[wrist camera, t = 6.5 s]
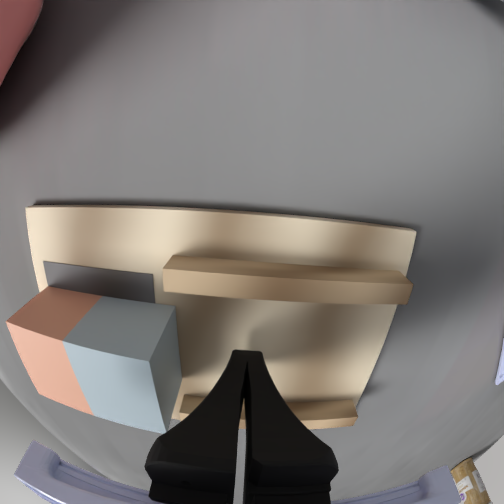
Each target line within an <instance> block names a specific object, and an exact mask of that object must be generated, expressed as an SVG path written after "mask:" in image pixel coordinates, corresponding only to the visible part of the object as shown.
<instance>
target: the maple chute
mask: <svg viewBox="0 0 504 504" xmlns="http://www.w3.org/2000/svg"><path fill="white" fill-rule="evenodd" d="M26 218H27V227H28V234H29V241H30V248H31V254H32V259H33V264H34V269H35V274H36V278H37V283H38V287H39V291H40V292H41V291H43V290H44V289H45V288H46V287H48V286H50V287H55V288H60V289H66V290H71V291H76V292H82V293H88V294H94V295H100V296H106V297H112V298H119V299H126V300H133V301H140V302H148V303H155V304H164V305H172V306H175V307H176V321H177V333H178V345H179V355H180V364H181V373H182V382H181V386H180V389H179V393H178V396H177V399H176V403H175V407H174V410H173V414H172V417H171V418H172V419H178V420H181V421H182V420H183V419H185V418H186V417H187V416H188V415H189V414H190V413H191V412H192V411H193V410H194V409H195V408H196V407H197V406H198V405H199V404H200V403H201V402H202V401H203V400H204V399H205V398H206V396H207V395H208V394H209V393H210V391H211V390H212V389H213V387H214V386H215V384H216V383H217V381H218V380H219V378H220V377H221V375H222V373H223V371H224V370H225V368H226V366H227V364H228V362H229V359H230V357H231V354H232V351H233V350H235V349H237V350H251V351H261V352H262V353H263V357H264V361H265V364H266V366H267V369H268V371H269V374H270V376H271V378H272V380H273V382H274V384H275V386H276V388H277V390H278V391H279V393H280V395H281V396H282V398H283V399H284V401H285V402H286V404H287V405H288V406H289V408H290V409H291V410H292V412H293V413H294V414H295V415H296V417H297V418H298V419H299V420H300V421H301V422H302V423H303V424H304V425H305V426H306V427H307V428H308V429H322V428H335V427H346V426H353V425H354V423H355V421H356V420H357V418H358V415H357V412H356V409H355V407H356V405H357V403H358V401H359V399H360V397H361V395H362V393H363V390H364V388H365V386H366V384H367V382H368V380H369V377H370V375H371V373H372V371H373V368H374V366H375V364H376V361H377V359H378V356H379V354H380V352H381V349H382V347H383V344H384V341H385V339H386V336H387V333H388V331H389V328H390V325H391V322H392V319H393V316H394V314H395V311H396V307H397V304H407V303H408V300H409V297H410V294H411V291H412V288H413V283H411V282H410V281H409V280H408V279H407V278H406V274H407V270H408V267H409V263H410V259H411V255H412V251H413V246H414V242H415V237H416V233H417V232H416V231H414V230H413V229H411V228H404V227H396V226H389V225H381V224H373V223H365V222H356V221H347V220H338V219H329V218H319V217H309V216H298V215H287V214H275V213H263V212H249V211H235V210H220V209H203V208H183V207H159V206H127V205H32V206H29V207H26ZM239 428H240V429H246V424H245V407H244V400H243V406H242V412H241V418H240V424H239Z"/></svg>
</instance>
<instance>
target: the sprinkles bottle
mask: <svg viewBox="0 0 504 504" xmlns="http://www.w3.org/2000/svg"><path fill="white" fill-rule="evenodd" d="M451 474H452V475H453V477H454V479H455V482H456V485H457V488H458V490H459V492H460V495H461V497H462V500H463V502H464V504H493V503H492V502H490V501H491V500H490V498H489V496H488V493H487V491H486V488H485V486H484V483H483V481H482V479H481V477H480V474H479V472H478V470H477V469H476V467H475V465H474V463H473V461H472V458H468V459H466V460H464V461H462V462H461V463H459V464H458V465H457V466H456V467H454V468H453V469H452V470H451Z"/></svg>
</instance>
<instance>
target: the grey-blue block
mask: <svg viewBox="0 0 504 504" xmlns="http://www.w3.org/2000/svg"><path fill="white" fill-rule="evenodd" d="M62 342H63V345H64V348H65V350H66V353H67V356H68V358H69V361H70V364H71V366H72V369H73V371H74V374H75V376H76V378H77V381H78V383H79V385H80V387H81V390H82V392H83V394H84V396H85V398H86V400H87V402H88V404H89V407H90V409H91V411H92V412H93V414H94V416H97V417H100V418H103V419H107V420H110V421H113V422H117V423H120V424H124V425H128V426H132V427H136V428H140V429H144V430H148V431H153V432H158V433H162V434H164V433H166V432H167V431H168V428H169V424H170V421H171V417H172V414H173V410H174V407H175V403H176V399H177V396H178V393H179V389H180V386H181V382H182V373H181V364H180V355H179V345H178V333H177V321H176V307H175V306H172V305H164V304H155V303H148V302H140V301H133V300H126V299H119V298H112V297H106V296H102V297H101V298H100V299H99V300H98V301H97V302H96V304H95V305H94V306H93V307H92V308H91V309H90V310H89V311H88V312H87V313H86V314H85V316H84V317H83V318H82V319H81V320H80V321H79V322H78V323H77V324H76V326H75V327H74V328H73V329H72V330H71V331H70V332H69V334H68V335H67V336H66V337H65V338H64V339H63V341H62Z"/></svg>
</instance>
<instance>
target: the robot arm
mask: <svg viewBox="0 0 504 504" xmlns="http://www.w3.org/2000/svg"><path fill="white" fill-rule="evenodd" d="M502 381H504V340H503V346H502V352H501V357H500V362H499V367H498V371H497V376H496V380H495V384H496V385H498V384H500V383H501V382H502ZM243 400H244V407H245V424H246V455H245V475H244V492H243V504H459V503H460V502H461V498H460V495H459V493H458V490H457V488H456V485H455V483H454V481H453V478H452V475H451V473H450V471H449V468H448V466H447V465H445V466H442V467H440V468H437V469H435V470H432V471H430V472H427V473H426V474H424V475H423V476H422V477H420V478H419V480H418V481H415V482H412V483H409V484H405V485H402V486H399V487H395V488H392V489H388V490H384V491H381V492H376V493H372V494H368V495H363V496H358V497H353V498H348V499H342V500H335V501H330V495H329V492H330V491H331V486H330V482H331V480H332V479H333V478H334V477H335V475H336V474H337V473H338V471H339V469H338V463H337V460H336V458H335V455H334V453H333V451H332V449H331V448H330V447H329V446H328V445H326V444H325V443H324V442H322V441H321V440H320V439H319V438H318V437H316V436H315V435H314V434H313V433H312V432H311V431H310V430H309V429H308V428H307V427H306V426H305V425H304V424H303V423H302V422H301V421H300V420H299V419H298V418H297V417H296V415H295V414H294V413H293V412H292V410H291V409H290V408H289V406H288V405H287V404H286V402H285V401H284V399H283V398H282V396H281V395H280V393H279V391H278V390H277V388H276V386H275V384H274V382H273V380H272V378H271V376H270V374H269V371H268V369H267V366H266V364H265V361H264V357H263V353H262V352H261V351H251V350H237V349H235V350H233V351H232V354H231V357H230V359H229V362H228V364H227V366H226V368H225V370H224V371H223V373H222V375H221V377H220V378H219V380H218V381H217V383H216V384H215V386H214V387H213V389H212V390H211V391H210V393H209V394H208V395H207V396H206V398H205V399H204V400H203V401H202V402H201V403H200V404H199V405H198V406H197V407H196V408H195V409H194V410H193V411H192V412H191V413H190V414H189V415H188V416H187V417H186V418H185V419H183V420H182V421H181V422H180V423H178V424H177V425H176V426H175V427H173V428H172V429H170V430H169V431H167V432H166V433H164V434H163V435H161V436H159V437H158V438H157V439H156V441H155V442H154V444H153V446H152V447H151V449H150V451H149V454H148V456H147V460H146V463H145V470H146V471H147V473H148V475H149V477H150V478H151V480H152V484H151V487H150V491H147V490H143V489H139V488H136V487H132V486H129V485H125V484H122V483H119V482H116V481H113V480H110V479H107V478H104V477H102V476H99V475H96V474H94V473H91V472H89V471H86V470H84V469H81V468H79V467H77V466H75V465H72V464H70V463H68V462H65V461H64V460H62V459H60V457H59V456H58V454H56V453H55V452H54V451H53V450H51V449H50V448H48V447H46V446H44V445H42V444H41V443H39V442H37V441H35V440H32V442H31V444H30V446H29V447H28V449H27V451H26V453H25V455H24V456H23V458H22V460H21V462H20V464H19V466H18V468H17V470H16V471H15V473H14V475H15V477H16V478H18V479H19V480H20V481H21V482H22V483H23V484H25V485H26V486H27V487H28V488H30V489H31V490H32V491H33V492H35V493H36V494H37V495H39V496H40V497H41V498H43V499H45V500H47V501H48V502H50V503H52V504H233V498H234V487H235V475H236V460H237V442H238V430H239V424H240V418H241V412H242V406H243Z"/></svg>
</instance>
